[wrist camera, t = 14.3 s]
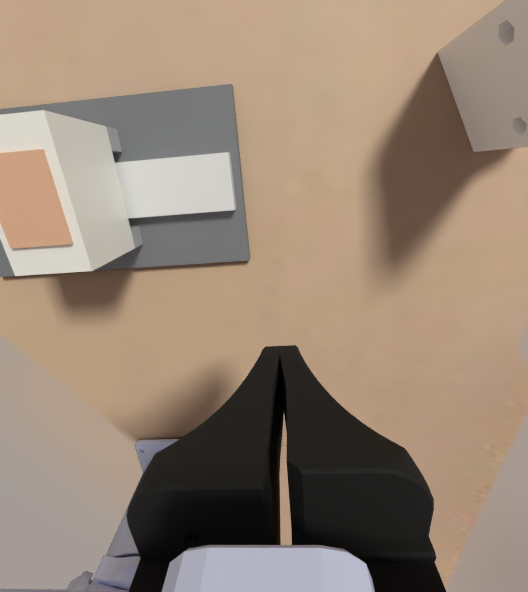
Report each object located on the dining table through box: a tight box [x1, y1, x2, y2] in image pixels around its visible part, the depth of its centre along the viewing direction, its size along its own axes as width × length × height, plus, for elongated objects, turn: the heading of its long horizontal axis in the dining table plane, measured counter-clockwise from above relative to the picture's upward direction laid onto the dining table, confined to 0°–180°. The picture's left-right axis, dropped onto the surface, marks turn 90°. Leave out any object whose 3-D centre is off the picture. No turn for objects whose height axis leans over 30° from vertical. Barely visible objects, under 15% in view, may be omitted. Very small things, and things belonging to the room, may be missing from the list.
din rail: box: [0, 84, 250, 277], centre depth 19 cm, size 10×18×1 cm, turn 95°
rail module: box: [0, 110, 143, 276], centre depth 16 cm, size 7×4×6 cm, turn 5°
